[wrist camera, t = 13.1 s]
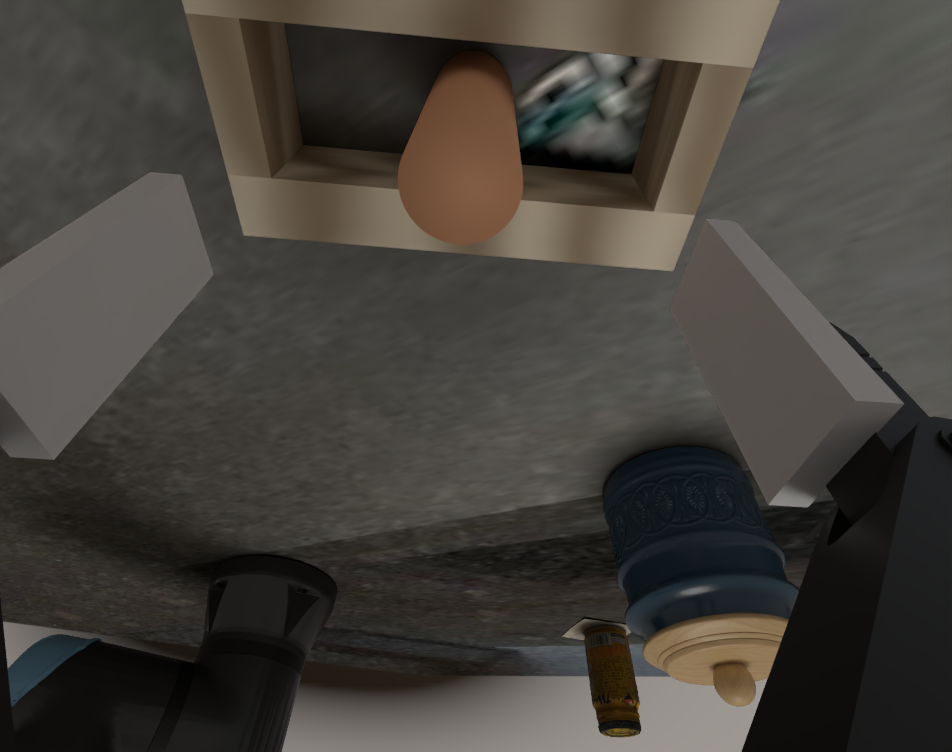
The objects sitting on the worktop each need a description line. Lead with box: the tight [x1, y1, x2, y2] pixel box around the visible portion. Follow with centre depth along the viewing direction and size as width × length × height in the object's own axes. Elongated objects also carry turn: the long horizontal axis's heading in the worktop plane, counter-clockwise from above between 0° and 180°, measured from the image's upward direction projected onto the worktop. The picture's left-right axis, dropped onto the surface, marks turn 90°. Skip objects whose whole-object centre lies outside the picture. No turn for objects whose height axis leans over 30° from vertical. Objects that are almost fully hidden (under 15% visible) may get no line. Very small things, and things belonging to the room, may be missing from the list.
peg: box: [398, 51, 523, 244], centre depth 20 cm, size 4×4×12 cm
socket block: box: [182, 0, 780, 271], centre depth 22 cm, size 22×12×5 cm, turn 86°
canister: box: [603, 446, 800, 706], centre depth 39 cm, size 13×13×18 cm
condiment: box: [563, 619, 641, 737], centre depth 65 cm, size 7×8×12 cm
